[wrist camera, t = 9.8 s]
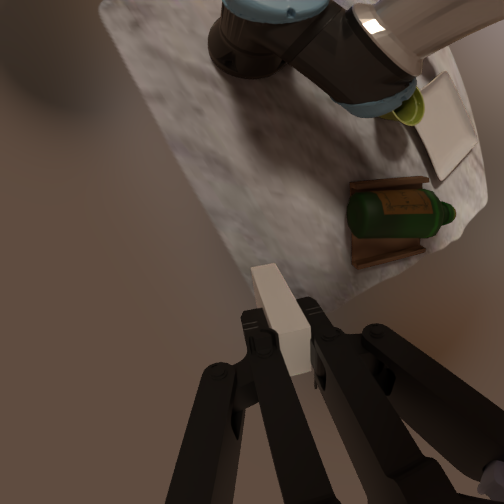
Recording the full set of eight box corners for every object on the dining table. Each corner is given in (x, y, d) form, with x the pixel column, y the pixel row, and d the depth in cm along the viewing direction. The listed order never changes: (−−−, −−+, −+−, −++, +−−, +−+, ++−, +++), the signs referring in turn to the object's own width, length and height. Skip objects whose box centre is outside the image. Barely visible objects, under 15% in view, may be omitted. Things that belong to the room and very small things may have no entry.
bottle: (340, 189, 53) (435, 192, 56) (344, 242, 54) (437, 234, 57) (367, 183, 42) (465, 189, 45) (371, 247, 43) (467, 237, 46)
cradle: (349, 182, 51) (356, 184, 48) (420, 176, 53) (429, 178, 50) (351, 264, 58) (357, 269, 55) (417, 247, 60) (425, 252, 57)
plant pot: (355, 99, 45) (379, 94, 37) (380, 76, 44) (405, 69, 36) (382, 135, 48) (408, 135, 40) (405, 110, 47) (431, 109, 39)
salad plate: (393, 104, 46) (402, 103, 43) (438, 70, 44) (447, 68, 41) (432, 181, 54) (441, 184, 51) (470, 139, 52) (479, 141, 48)
